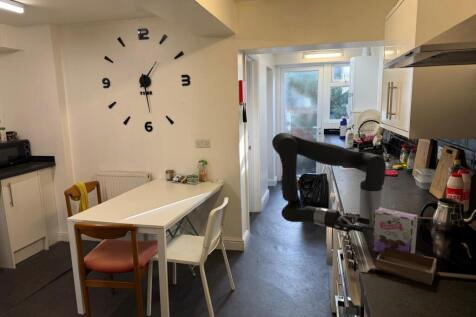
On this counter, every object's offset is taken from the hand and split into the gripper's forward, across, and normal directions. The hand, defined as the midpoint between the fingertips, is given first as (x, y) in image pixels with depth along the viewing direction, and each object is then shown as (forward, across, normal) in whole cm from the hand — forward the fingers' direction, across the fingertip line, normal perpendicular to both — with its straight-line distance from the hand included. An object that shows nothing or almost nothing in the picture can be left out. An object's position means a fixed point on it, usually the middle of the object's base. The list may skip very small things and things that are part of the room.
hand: (366, 225), depth 127 cm
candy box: (+10, 0, +9) cm, 14 cm away
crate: (+16, -10, +9) cm, 21 cm away
